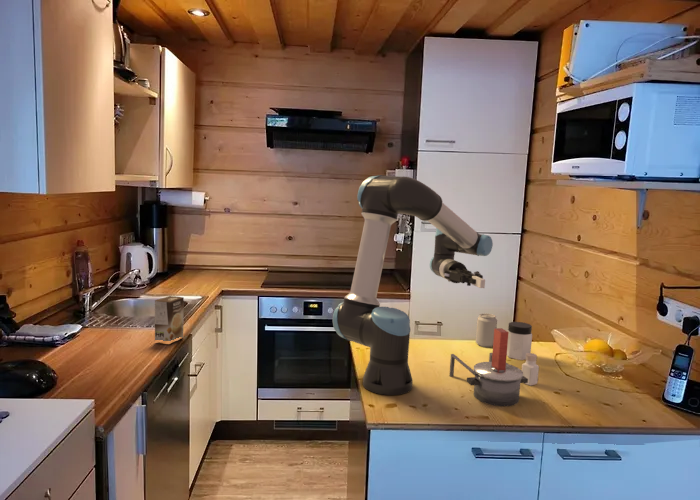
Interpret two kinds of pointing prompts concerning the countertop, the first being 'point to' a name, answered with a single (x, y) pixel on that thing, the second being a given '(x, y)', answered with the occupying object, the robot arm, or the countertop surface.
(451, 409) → the countertop surface
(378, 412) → the countertop surface
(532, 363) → the salt shaker
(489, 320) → the can
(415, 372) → the countertop surface
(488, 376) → the lid
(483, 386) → the cooker
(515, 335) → the jar
